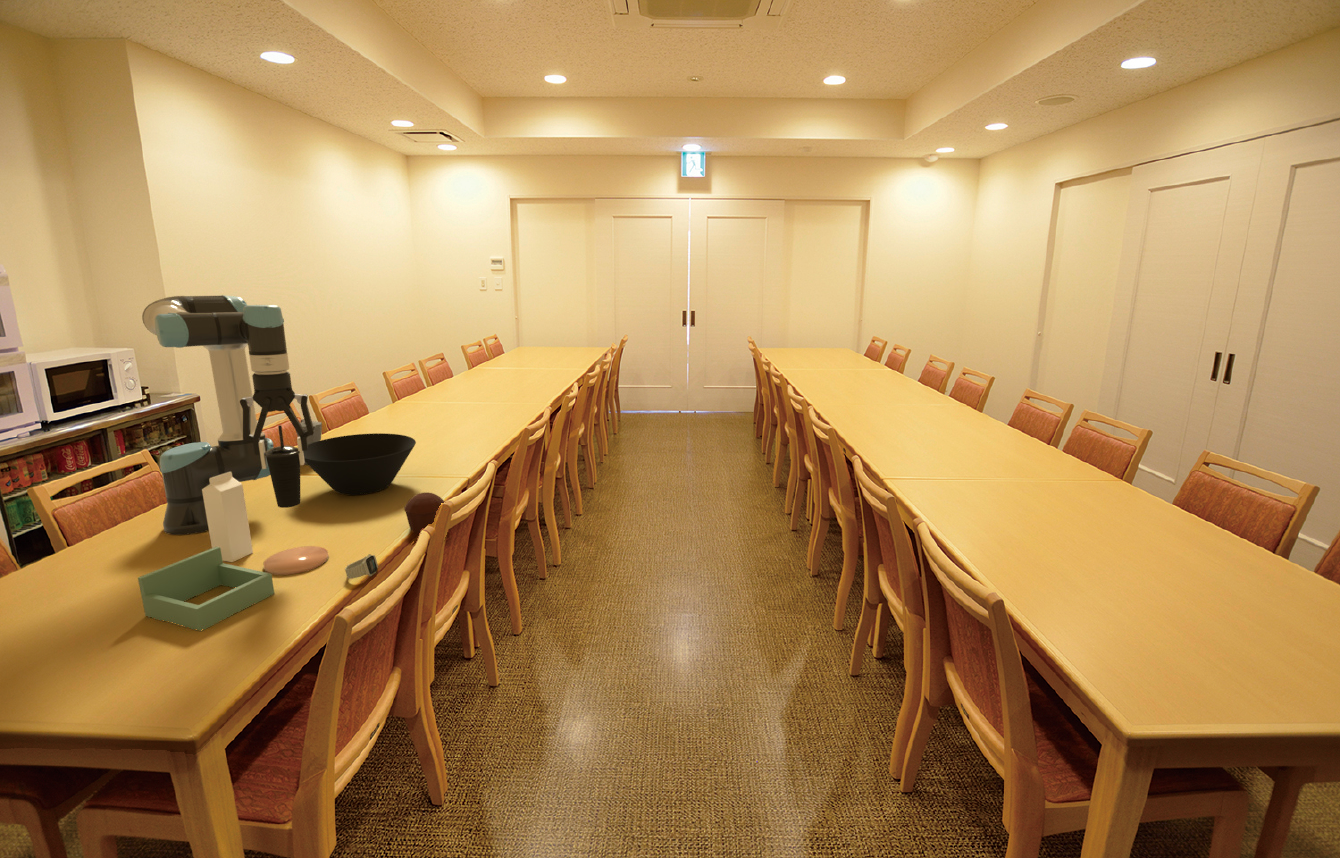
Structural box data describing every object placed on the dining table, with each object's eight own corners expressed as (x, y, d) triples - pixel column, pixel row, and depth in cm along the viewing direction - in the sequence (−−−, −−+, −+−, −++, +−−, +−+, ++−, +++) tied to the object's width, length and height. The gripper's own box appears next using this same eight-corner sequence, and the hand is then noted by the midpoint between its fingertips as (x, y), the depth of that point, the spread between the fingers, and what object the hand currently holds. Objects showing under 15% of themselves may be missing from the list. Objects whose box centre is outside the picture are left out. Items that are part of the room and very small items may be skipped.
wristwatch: (364, 583, 146) (362, 564, 145) (338, 582, 146) (336, 562, 145) (384, 566, 155) (382, 547, 153) (360, 565, 155) (358, 546, 154)
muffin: (406, 522, 182) (403, 490, 179) (445, 517, 186) (443, 486, 184) (406, 537, 171) (403, 504, 169) (448, 532, 176) (446, 499, 173)
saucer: (250, 569, 151) (249, 565, 151) (300, 547, 164) (299, 542, 164) (293, 579, 147) (292, 574, 147) (341, 555, 160) (340, 550, 160)
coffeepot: (331, 462, 238) (326, 417, 234) (304, 467, 232) (298, 421, 227) (319, 454, 249) (314, 411, 244) (293, 458, 242) (287, 414, 238)
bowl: (364, 513, 188) (358, 466, 185) (277, 498, 199) (271, 454, 196) (441, 479, 221) (438, 438, 218) (362, 468, 232) (358, 429, 229)
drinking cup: (290, 511, 147) (280, 430, 143) (263, 508, 149) (252, 427, 144) (314, 500, 155) (305, 423, 150) (288, 497, 156) (279, 421, 152)
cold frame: (145, 616, 130) (137, 577, 128) (222, 581, 145) (216, 546, 143) (200, 631, 125) (193, 591, 123) (274, 593, 140) (269, 557, 138)
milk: (213, 559, 156) (198, 477, 151) (235, 550, 162) (221, 470, 157) (232, 562, 155) (218, 479, 150) (254, 552, 161) (240, 472, 155)
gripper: (215, 376, 137) (231, 474, 142) (318, 371, 145) (330, 464, 151) (222, 371, 143) (237, 466, 148) (320, 367, 152) (331, 457, 157)
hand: (283, 465), depth 149 cm, fingers closed on drinking cup, 7 cm apart
